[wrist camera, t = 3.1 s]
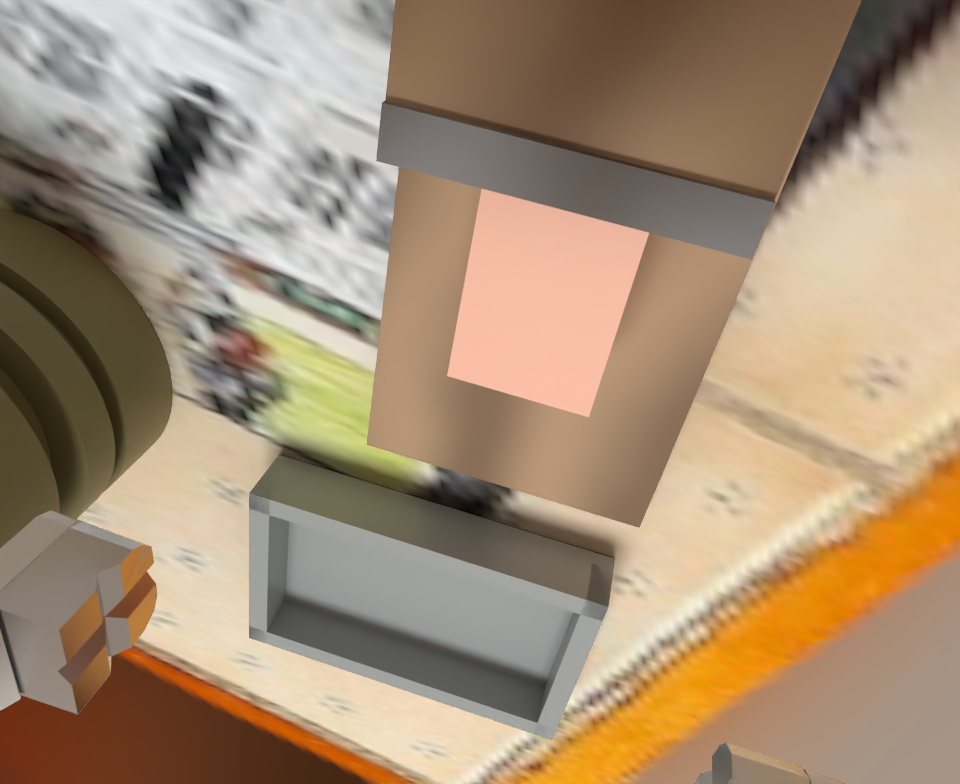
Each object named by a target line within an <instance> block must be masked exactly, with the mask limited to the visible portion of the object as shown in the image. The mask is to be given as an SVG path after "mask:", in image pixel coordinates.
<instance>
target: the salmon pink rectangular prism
mask: <svg viewBox="0 0 960 784" xmlns="http://www.w3.org/2000/svg"><path fill="white" fill-rule="evenodd" d="M648 235H649V233H648V232H645V231H641V230H637V229H633V228H629V227H626V226H622V225H618V224H614V223H610V222H607V221H603V220H599V219H595V218H591V217H588V216H584V215H580V214H576V213H572V212H569V211H565V210H561V209H557V208H554V207H550V206H546V205H542V204H538V203H535V202H531V201H527V200H523V199H519V198H516V197H512V196H508V195H504V194H500V193H497V192H493V191H489V190H485V189H481V195H480V200H479V205H478V211H477V216H476V222H475V227H474V233H473V238H472V243H471V249H470V254H469V260H468V265H467V271H466V276H465V281H464V287H463V292H462V298H461V303H460V308H459V314H458V319H457V325H456V330H455V336H454V341H453V346H452V352H451V357H450V363H449V368H448V374H447V376H449V377H452V378H456V379H459V380H462V381H466V382H469V383H473V384H476V385H480V386H483V387H486V388H490V389H493V390H497V391H500V392H504V393H507V394H510V395H514V396H517V397H521V398H524V399H528V400H531V401H534V402H538V403H541V404H545V405H548V406H552V407H555V408H558V409H562V410H565V411H569V412H572V413H576V414H579V415H582V416H586V417H589V415H590V412H591V409H592V406H593V403H594V400H595V397H596V394H597V391H598V388H599V385H600V381H601V378H602V375H603V372H604V369H605V366H606V363H607V360H608V357H609V354H610V351H611V348H612V345H613V342H614V339H615V336H616V333H617V330H618V327H619V324H620V321H621V318H622V314H623V311H624V308H625V305H626V302H627V299H628V296H629V293H630V290H631V287H632V284H633V281H634V278H635V275H636V272H637V269H638V266H639V263H640V260H641V257H642V254H643V250H644V247H645V244H646V241H647V238H648Z"/></svg>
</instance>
